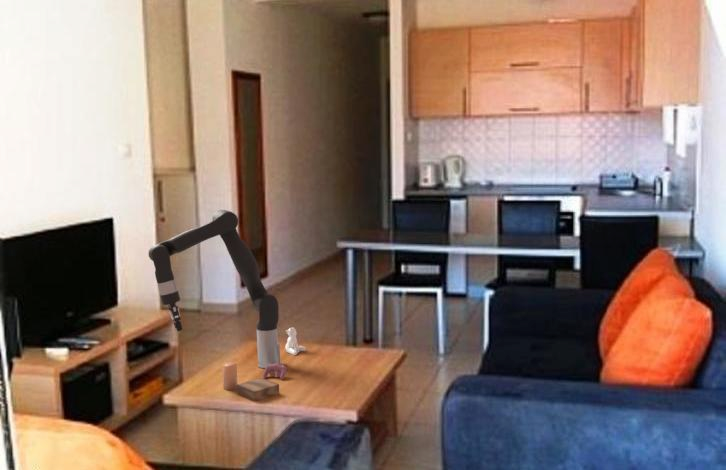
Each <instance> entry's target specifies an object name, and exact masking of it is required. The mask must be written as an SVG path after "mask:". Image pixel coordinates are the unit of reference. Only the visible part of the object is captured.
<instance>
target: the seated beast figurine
mask: <svg viewBox="0 0 726 470" xmlns="http://www.w3.org/2000/svg"><path fill="white" fill-rule="evenodd" d="M285 333H286V334H287V335H288V338H287V340H286V341H287V342H286V344H285V346H284V348H285V351H286V352H287V353H288V354H290V355H292V356H296V355H298V353H300V352H306V347H305V346H303V345H299V344H298V339H297V330H296V328H295V327H290V328H288V329H285Z"/></svg>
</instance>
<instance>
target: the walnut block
mask: <svg viewBox="0 0 726 470" xmlns="http://www.w3.org/2000/svg"><path fill="white" fill-rule="evenodd" d="M236 390H237V391H236V392H237V395H238V396H241V397H243V398H245V399H247V400H250V401H253V402H258V401H261V400H263V399H267V398H271V397H274V396H276V395H277V396H278V395H280V384H279V383H277V382H275V381H271V380H270V379H269V380H268V379H267V378H263V377H259V378H255V379H252V380H249V381H245V382H242V383H239V384H238V385H237V389H236Z"/></svg>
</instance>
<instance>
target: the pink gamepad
mask: <svg viewBox="0 0 726 470" xmlns="http://www.w3.org/2000/svg"><path fill="white" fill-rule="evenodd" d="M275 371H277V372H275ZM287 372H288V368H287V367H286V366H285V365H283V364H281V363H280V364H276V363H274V364H268V366H267V367H266V368H264V371H263V373H262V378H264V379H267V377H268V376H270V377H271V378H273V377H277V378H279V379H280V380H281V381H283V380H284V379H285V377H286V375H287Z"/></svg>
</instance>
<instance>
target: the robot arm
mask: <svg viewBox="0 0 726 470" xmlns="http://www.w3.org/2000/svg"><path fill="white" fill-rule="evenodd" d="M238 224H239V218H238V215H237V214H236V213H234V212H232V211H230V210H227V209H226V210H225V209H219V210H217V211H215V212H214V213H213V216H212V220H211V221H210V222H209V223H205V224H204V225H201V226H197V227H195V228H192V229H188V230H186V231H183V232H181V233H180V234H177V235H175V236H172V238H171V237H170V238H169V239H167V240H165V241H162V242H160V243H157V244H155V245H153V246H151V247H150V249H149V250H148V257H149V259H150V260H151V261H152V262H153V265H154V270H155V271H154V275H155V280H156V283H157V290H158V292H159V297H160V301H161V305H162V306H167V307H168V308H167V310H168V312H169V315H170V318H171V320H172V324H173V326H174V328H175V329H176V331H177V332H181V331H183V327H182V322H181V314H180V313H181V312H180V308H179V306H178V305H177V304H176V303H178V302H180V301H181V297H180V293H179V289H178V285H177V283H176V280H175V276H174V273H173V269H172V265H171V264H172V263H171V257H172V256H173V255H176V254H180V253H182V252H184V251H186V250H189V249H190V248H192V247H194V246H197V245H198V244H200V243H203V242H205V241H208V240H209V239H211V238H215V237H217V236H219V237H220V238H221V239H222V241H223V243H224V244H225V248H226V249H227V252H228V255H229V257H230V259H231V261H232V263H233V265H234V267H235V269H236V272H237V273H238V275H239V277H240V279H241V281H242V283H243V284H244V286H245V288H246V289H247V290H246V291H247V292H248V295H249V297H250V300H251V303H252V306H253V308H254V309H255V310H256V312H258V319H259V320H258V321H257V322H256V325H255V326H256V327H255V328H256V343H257V345H256V346H257V365H258V367H259V368H261V369H265V368H266V367H267V366H268V364H274V363H276V364H281V347H280V344H279V341H278V338H279V337H278V323H279V317H280V316H279V314H280V313H279V310H280V309H279V300H278V299H277V297H276V296H275V295H273V294H272V293H271V294H270V293H269V292H268V291H267V290H266V288H265V286H264V284H263V283H262V280H261V275H260V270H259V265H258V263H257V261H256V258H255V255H253V252H252V251H251V249H250V247H249V246H248V245H247V244H246V243H245V242H244V240H243V239H242V238H241V236H240V234H239V233H238V231H237V227H238Z"/></svg>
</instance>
